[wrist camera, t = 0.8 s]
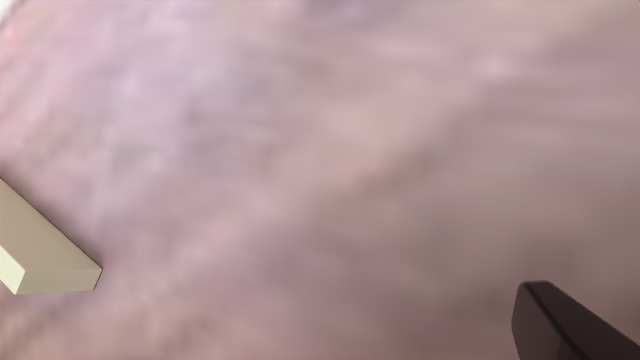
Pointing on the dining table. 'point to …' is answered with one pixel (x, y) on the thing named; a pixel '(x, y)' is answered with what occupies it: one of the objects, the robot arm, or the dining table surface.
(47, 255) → the corral
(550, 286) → the robot arm
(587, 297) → the dining table surface
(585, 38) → the dining table surface
